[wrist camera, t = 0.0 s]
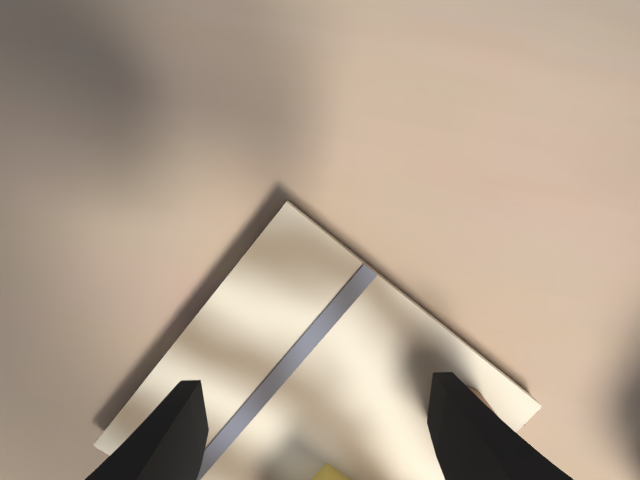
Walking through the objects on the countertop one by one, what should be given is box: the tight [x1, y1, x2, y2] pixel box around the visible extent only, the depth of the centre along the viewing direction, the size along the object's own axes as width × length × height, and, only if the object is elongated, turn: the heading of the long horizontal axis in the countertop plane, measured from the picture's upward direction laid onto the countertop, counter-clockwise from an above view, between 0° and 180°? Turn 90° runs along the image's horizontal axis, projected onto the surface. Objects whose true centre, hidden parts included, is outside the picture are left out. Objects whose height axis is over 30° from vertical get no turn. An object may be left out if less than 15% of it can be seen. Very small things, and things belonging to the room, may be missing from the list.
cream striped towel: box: [93, 200, 542, 480], centre depth 22 cm, size 19×20×1 cm
